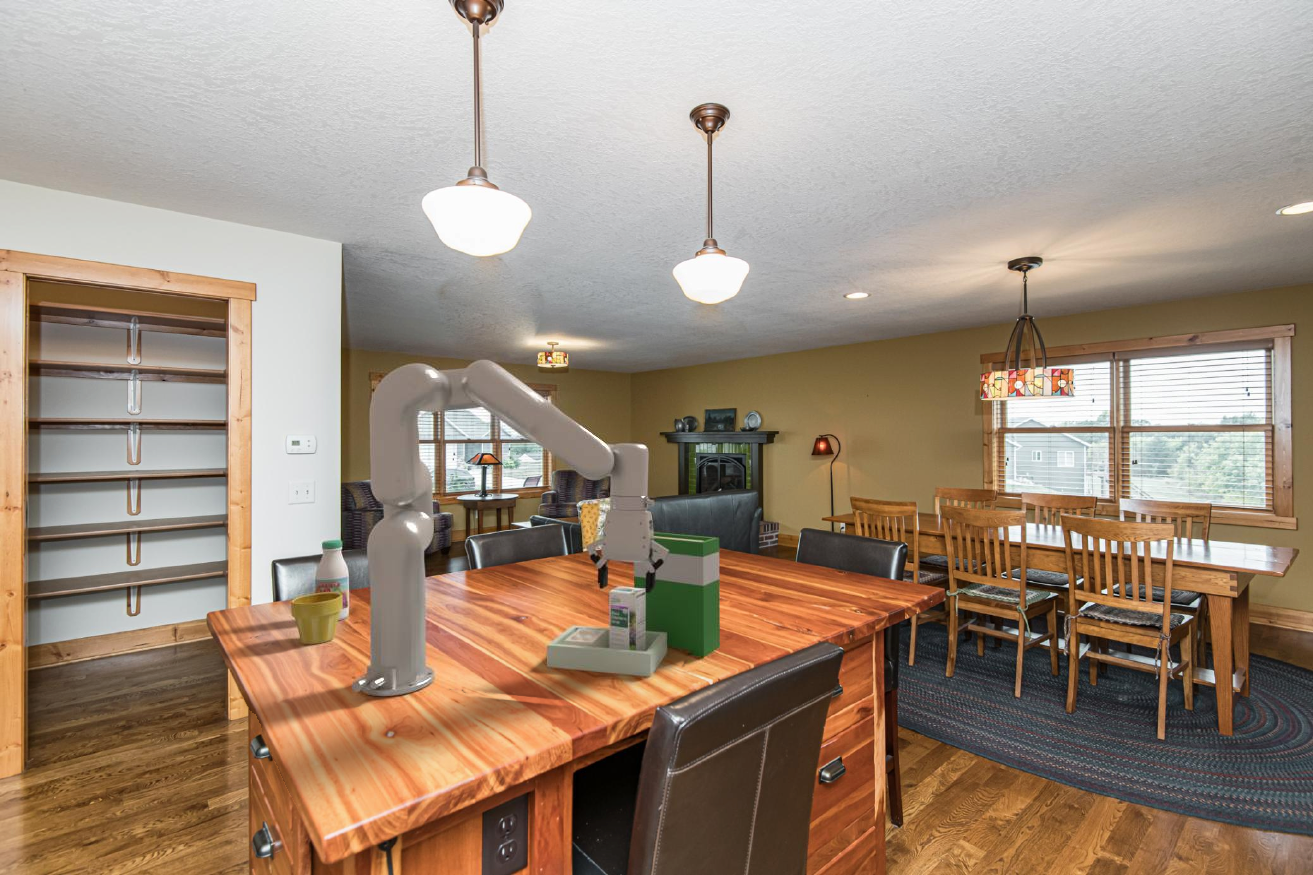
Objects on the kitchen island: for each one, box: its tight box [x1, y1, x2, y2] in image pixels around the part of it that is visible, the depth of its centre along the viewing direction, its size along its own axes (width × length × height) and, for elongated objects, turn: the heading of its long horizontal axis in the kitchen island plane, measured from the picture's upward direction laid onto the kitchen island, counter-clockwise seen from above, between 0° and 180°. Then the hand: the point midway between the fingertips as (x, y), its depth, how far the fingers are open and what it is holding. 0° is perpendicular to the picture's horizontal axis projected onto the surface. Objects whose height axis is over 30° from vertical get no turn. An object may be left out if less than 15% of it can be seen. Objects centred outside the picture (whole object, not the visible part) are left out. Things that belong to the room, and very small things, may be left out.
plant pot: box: [290, 592, 343, 645], centre depth 136 cm, size 10×10×10 cm
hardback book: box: [633, 531, 721, 659], centre depth 132 cm, size 18×7×24 cm, turn 57°
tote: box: [546, 625, 668, 678], centre depth 121 cm, size 13×21×5 cm, turn 76°
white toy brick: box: [564, 628, 606, 648], centre depth 122 cm, size 8×6×5 cm
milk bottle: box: [314, 539, 350, 621], centre depth 153 cm, size 8×8×20 cm
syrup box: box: [608, 586, 646, 651], centre depth 120 cm, size 6×6×14 cm
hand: (626, 589), depth 120 cm, fingers open, 9 cm apart
